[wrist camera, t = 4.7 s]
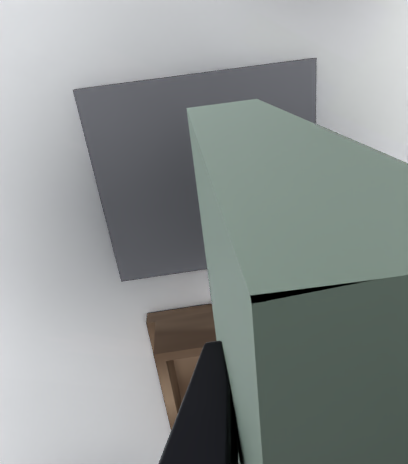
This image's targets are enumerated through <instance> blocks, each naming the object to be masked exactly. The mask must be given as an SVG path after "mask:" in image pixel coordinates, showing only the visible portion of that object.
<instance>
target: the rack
mask: <svg viewBox="0 0 408 464" xmlns="http://www.w3.org/2000/svg"><path fill="white" fill-rule="evenodd" d="M146 324H147V328H148V333H149V337H150V341H151V345H152V350H153V354H154V359H155V363H156V367H157V372H158V376H159V380H160V385H161V389H162V393H163V397H164V402H165V406H166V410H167V415H168V419H169V423H170V428H171V430H172V427H173V425H174V422H175V419H176V417H177V414H178V412H179V409H180V406H181V404H182V401H183V398H184V396H185V393H186V391H187V388H188V385H189V383H190V380H191V377H192V375H193V372H194V369H195V367H196V364H197V362H198V359H199V356H200V354H201V351H202V348H203V346H204V344H205V343H207V342H213V341H217V340H216V332H215V324H214V317H213V309H212V304H207V305H200V306H194V307H187V308H180V309H174V310H167V311H160V312H154V313H147V321H146Z"/></svg>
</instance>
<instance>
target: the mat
mask: <svg viewBox="0 0 408 464" xmlns="http://www.w3.org/2000/svg"><path fill="white" fill-rule="evenodd" d="M73 92H74V96H75V100H76V104H77V108H78V112H79V116H80V120H81V124H82V128H83V132H84V136H85V140H86V144H87V148H88V151H89V155H90V159H91V163H92V167H93V171H94V175H95V179H96V183H97V187H98V191H99V195H100V199H101V203H102V207H103V211H104V215H105V218H106V222H107V226H108V230H109V234H110V238H111V242H112V246H113V250H114V254H115V258H116V262H117V266H118V270H119V274H120V278H121V282H122V281H128V280H135V279H142V278H149V277H156V276H162V275H169V274H176V273H183V272H190V271H196V270H203V269H207V263H206V255H205V247H204V240H203V232H202V224H201V216H200V209H199V201H198V193H197V186H196V178H195V170H194V162H193V155H192V147H191V139H190V132H189V124H188V116H187V109H186V108H190V107H198V106H206V105H213V104H221V103H228V102H236V101H244V100H251V99H259V100H261V101H263V102H266V103H268V104H270V105H273V106H275V107H277V108H280V109H282V110H284V111H287V112H289V113H291V114H294V115H296V116H298V117H301V118H303V119H305V120H308V121H310V122H312V123H315V124H316V58H311V59H303V60H296V61H288V62H280V63H273V64H265V65H257V66H250V67H242V68H234V69H227V70H219V71H211V72H204V73H196V74H189V75H181V76H173V77H166V78H158V79H150V80H143V81H135V82H127V83H120V84H112V85H105V86H97V87H89V88H82V89H75V90H73Z"/></svg>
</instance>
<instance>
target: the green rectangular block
mask: <svg viewBox="0 0 408 464" xmlns="http://www.w3.org/2000/svg"><path fill="white" fill-rule="evenodd" d="M186 109H187V116H188V124H189V132H190V139H191V147H192V155H193V162H194V170H195V178H196V186H197V193H198V201H199V209H200V216H201V224H202V232H203V240H204V247H205V255H206V263H207V270H208V278H209V286H210V293H211V301H212V309H213V317H214V324H215V332H216V340H217V341H222V346H223V351H224V356H225V361H226V366H227V371H228V376H229V382H230V387H231V395H232V404H233V412H234V421H235V430H236V438H237V447H238V460H239V464H408V163H405V162H403V161H401V160H398V159H396V158H394V157H391V156H389V155H387V154H384V153H382V152H380V151H377V150H375V149H373V148H371V147H368V146H366V145H364V144H361V143H359V142H357V141H354V140H352V139H350V138H347V137H345V136H343V135H340V134H338V133H336V132H333V131H331V130H329V129H326V128H324V127H322V126H319V125H317V124H315V123H312V122H310V121H308V120H305V119H303V118H301V117H298V116H296V115H294V114H291V113H289V112H287V111H284V110H282V109H280V108H277V107H275V106H273V105H270V104H268V103H266V102H263V101H261V100H259V99H251V100H244V101H236V102H228V103H221V104H213V105H206V106H198V107H190V108H186Z"/></svg>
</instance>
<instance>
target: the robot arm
mask: <svg viewBox="0 0 408 464" xmlns="http://www.w3.org/2000/svg"><path fill="white" fill-rule="evenodd" d="M159 464H239V460H238V447H237V438H236V430H235V421H234V412H233V404H232V395H231V387H230V382H229V376H228V371H227V366H226V361H225V356H224V351H223V346H222V341H213V342H207V343H205V344H204V346H203V348H202V351H201V354H200V356H199V359H198V362H197V364H196V367H195V369H194V372H193V375H192V377H191V380H190V383H189V385H188V388H187V391H186V393H185V396H184V398H183V401H182V404H181V406H180V409H179V412H178V414H177V417H176V419H175V422H174V425H173V427H172V430H171V433H170V435H169V438H168V440H167V443H166V446H165V448H164V451H163V454H162V456H161V459H160V462H159Z"/></svg>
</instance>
